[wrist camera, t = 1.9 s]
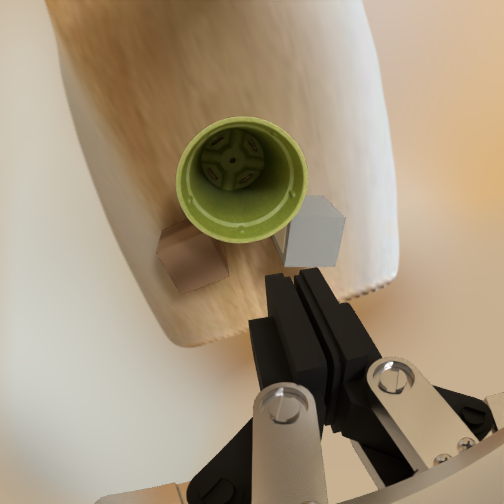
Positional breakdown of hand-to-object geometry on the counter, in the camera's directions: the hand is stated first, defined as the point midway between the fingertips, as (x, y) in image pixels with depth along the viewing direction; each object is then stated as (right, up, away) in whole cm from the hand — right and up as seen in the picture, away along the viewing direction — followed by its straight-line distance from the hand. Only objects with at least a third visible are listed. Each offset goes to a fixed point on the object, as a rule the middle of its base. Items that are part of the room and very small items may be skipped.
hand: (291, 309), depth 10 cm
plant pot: (-3, +11, +20) cm, 23 cm away
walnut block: (-7, +3, +23) cm, 24 cm away
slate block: (+3, +5, +23) cm, 24 cm away
